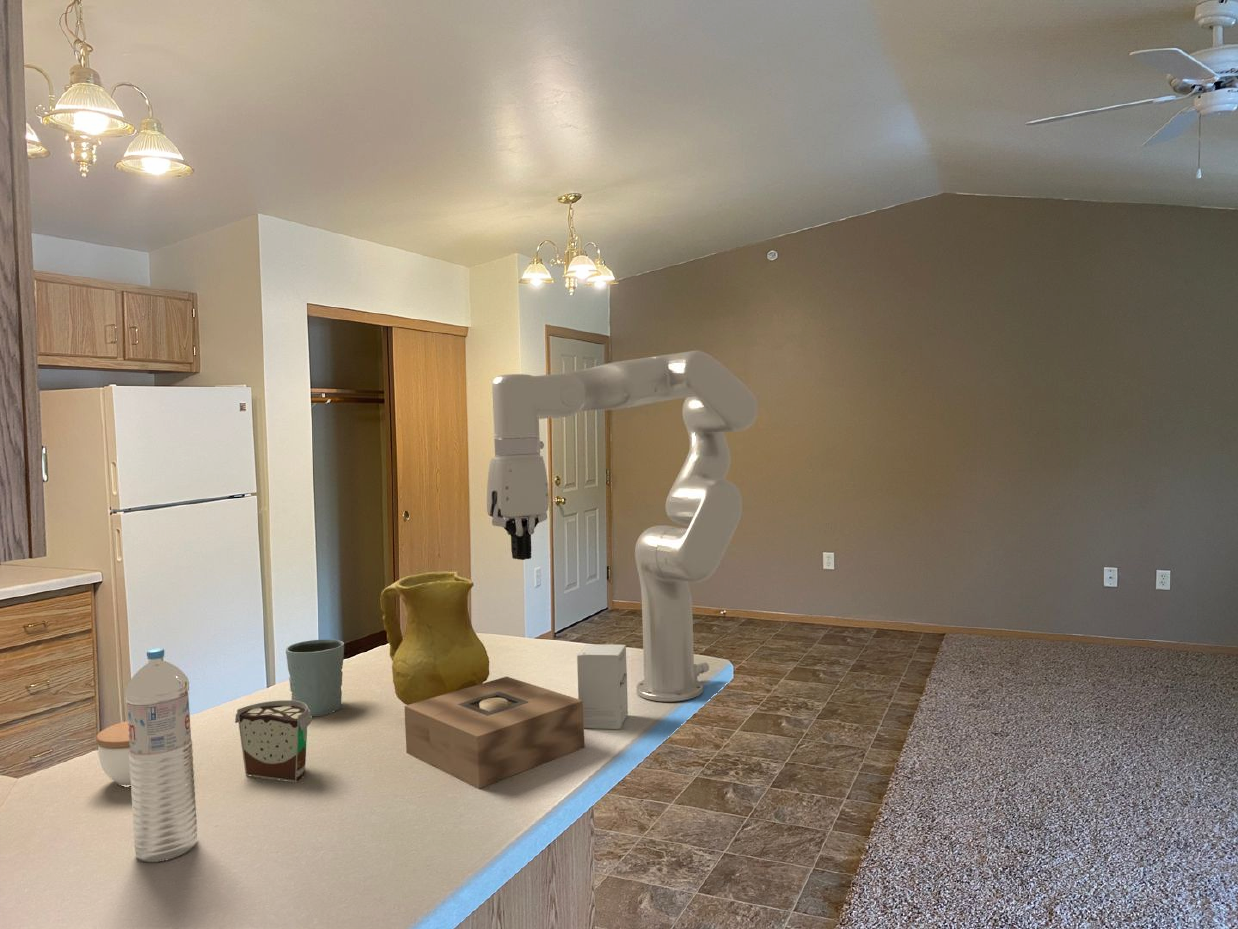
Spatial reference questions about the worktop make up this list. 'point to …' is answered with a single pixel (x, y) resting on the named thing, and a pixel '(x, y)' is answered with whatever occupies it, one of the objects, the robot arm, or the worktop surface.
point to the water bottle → (161, 760)
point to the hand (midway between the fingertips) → (521, 558)
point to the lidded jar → (115, 752)
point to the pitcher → (433, 637)
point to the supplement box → (603, 685)
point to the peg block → (494, 730)
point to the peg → (493, 704)
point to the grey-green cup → (316, 674)
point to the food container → (274, 739)
